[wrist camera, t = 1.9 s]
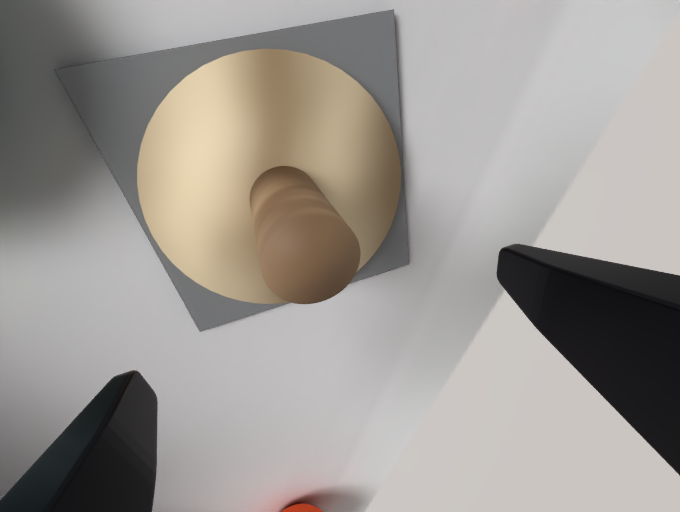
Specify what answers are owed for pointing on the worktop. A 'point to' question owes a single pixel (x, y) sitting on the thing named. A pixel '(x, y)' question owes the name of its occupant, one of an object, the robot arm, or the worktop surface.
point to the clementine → (302, 508)
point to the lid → (269, 177)
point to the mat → (175, 64)
